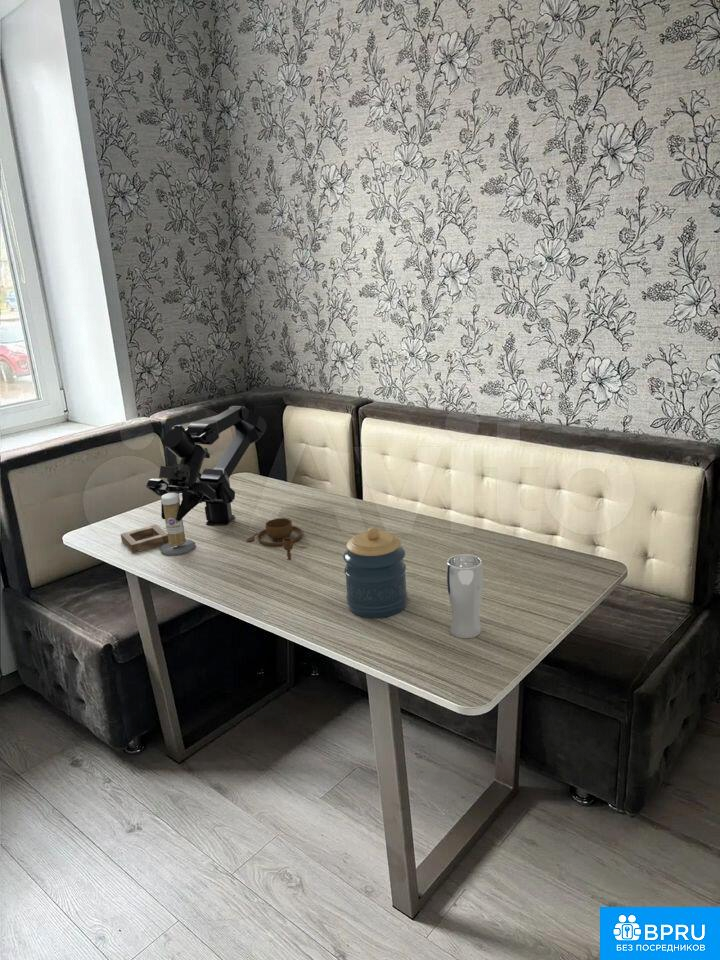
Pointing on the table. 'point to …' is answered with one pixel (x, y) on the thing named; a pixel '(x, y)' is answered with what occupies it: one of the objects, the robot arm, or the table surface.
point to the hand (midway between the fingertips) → (170, 519)
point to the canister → (375, 574)
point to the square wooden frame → (156, 540)
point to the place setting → (279, 534)
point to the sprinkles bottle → (173, 519)
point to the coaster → (177, 548)
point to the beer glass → (465, 594)
